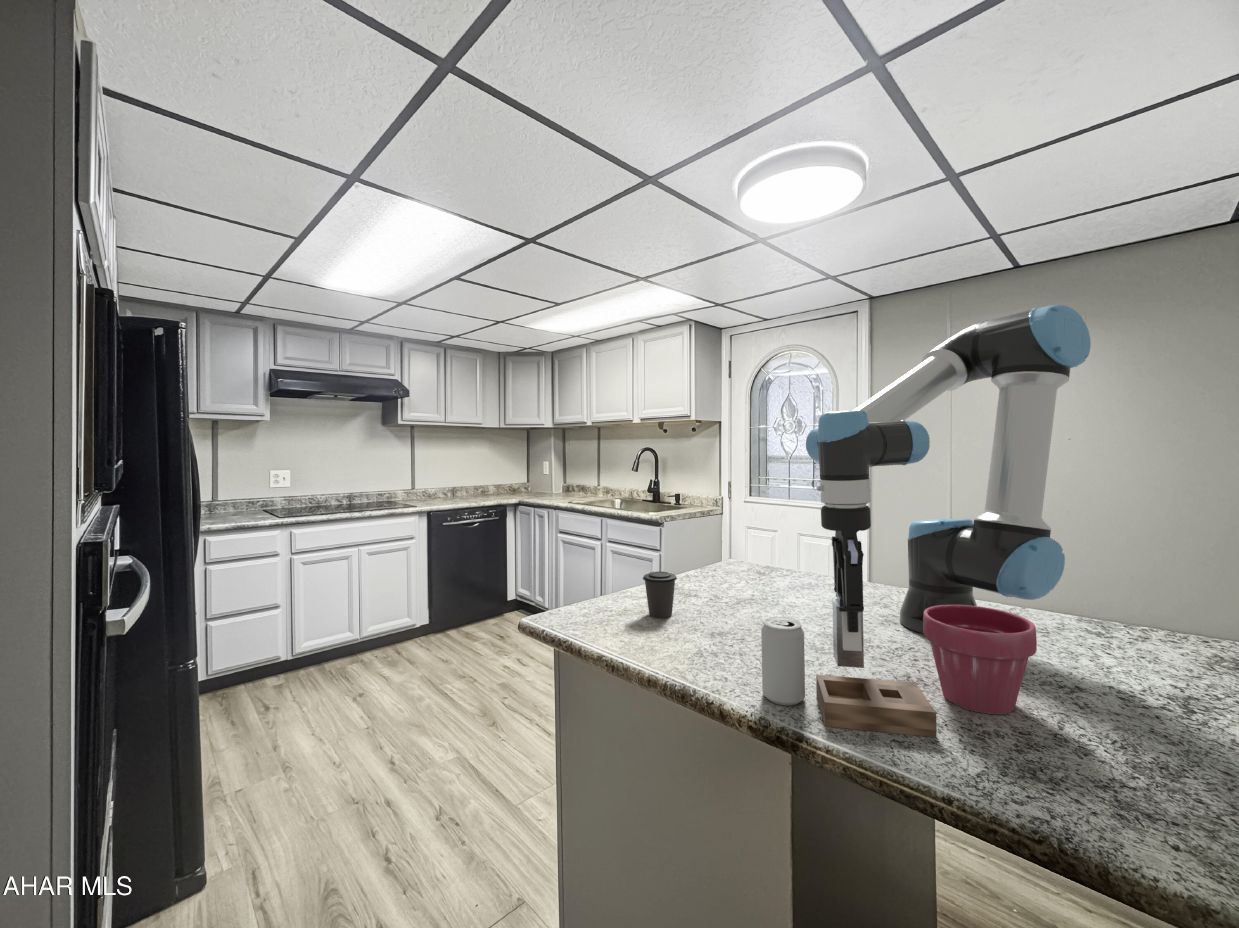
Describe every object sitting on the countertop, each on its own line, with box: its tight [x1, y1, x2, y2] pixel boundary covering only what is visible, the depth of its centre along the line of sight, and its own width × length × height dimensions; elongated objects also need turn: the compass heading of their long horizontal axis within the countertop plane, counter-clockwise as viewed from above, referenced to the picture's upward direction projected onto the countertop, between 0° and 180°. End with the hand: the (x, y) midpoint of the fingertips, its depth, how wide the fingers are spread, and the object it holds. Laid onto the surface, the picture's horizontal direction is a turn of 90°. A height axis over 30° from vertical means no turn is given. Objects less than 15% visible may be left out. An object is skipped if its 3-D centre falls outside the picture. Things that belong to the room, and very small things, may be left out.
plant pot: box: [923, 605, 1038, 715], centre depth 79 cm, size 14×14×13 cm
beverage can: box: [760, 616, 806, 707], centre depth 80 cm, size 6×6×12 cm
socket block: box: [815, 674, 937, 738], centre depth 75 cm, size 14×9×3 cm, turn 76°
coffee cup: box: [642, 571, 678, 620], centre depth 122 cm, size 8×8×10 cm
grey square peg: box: [832, 593, 865, 669], centre depth 86 cm, size 4×4×11 cm
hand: (849, 643), depth 86 cm, fingers closed on grey square peg, 4 cm apart
